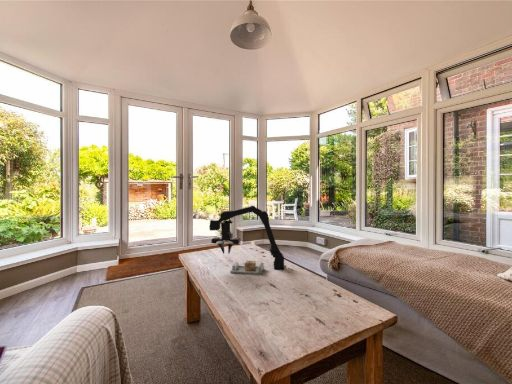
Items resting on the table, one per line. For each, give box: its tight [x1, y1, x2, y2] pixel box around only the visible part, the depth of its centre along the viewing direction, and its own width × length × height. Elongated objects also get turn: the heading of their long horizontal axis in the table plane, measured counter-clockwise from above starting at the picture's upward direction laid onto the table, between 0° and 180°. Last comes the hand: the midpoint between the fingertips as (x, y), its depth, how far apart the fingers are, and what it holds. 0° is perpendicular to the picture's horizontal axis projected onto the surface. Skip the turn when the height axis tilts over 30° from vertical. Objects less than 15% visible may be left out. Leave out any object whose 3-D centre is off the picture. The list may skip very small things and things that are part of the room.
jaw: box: [231, 261, 240, 270], centre depth 159 cm, size 2×8×3 cm, turn 168°
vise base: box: [230, 262, 265, 275], centre depth 157 cm, size 20×10×4 cm, turn 78°
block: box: [244, 260, 257, 271], centre depth 157 cm, size 6×4×5 cm
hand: (226, 253), depth 160 cm, fingers open, 3 cm apart
